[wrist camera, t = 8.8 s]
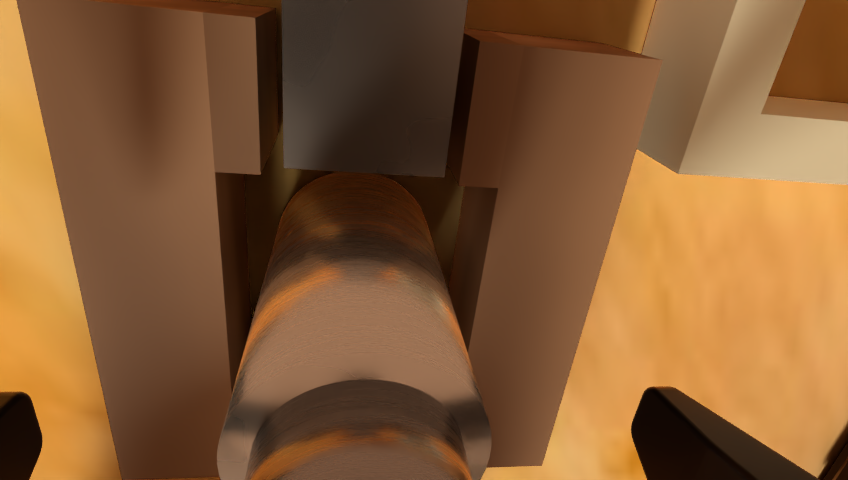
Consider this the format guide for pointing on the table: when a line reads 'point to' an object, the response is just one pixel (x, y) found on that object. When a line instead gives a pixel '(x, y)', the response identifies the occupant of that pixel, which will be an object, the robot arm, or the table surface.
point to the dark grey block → (370, 84)
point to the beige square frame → (736, 96)
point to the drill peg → (354, 349)
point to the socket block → (247, 154)
